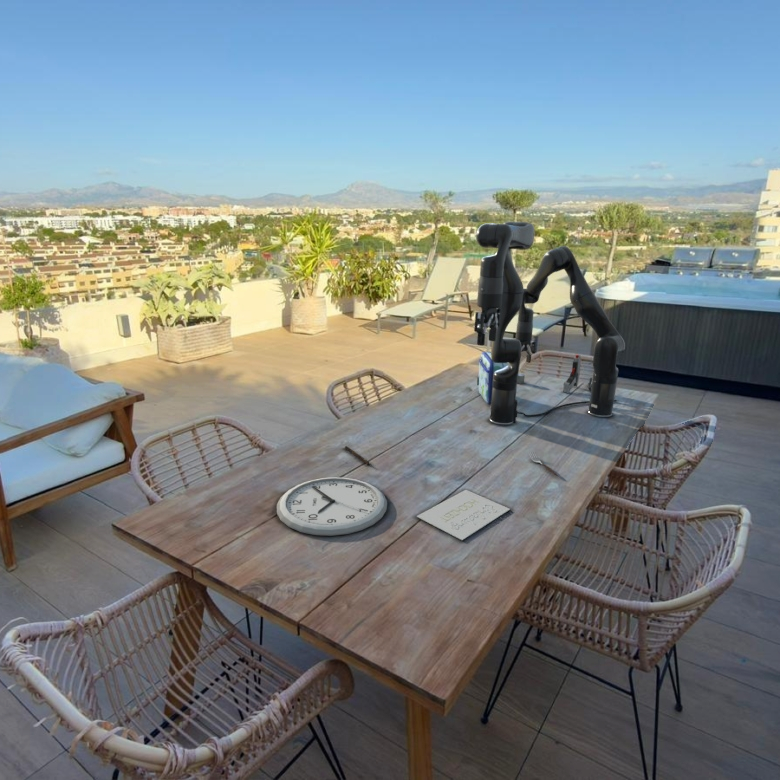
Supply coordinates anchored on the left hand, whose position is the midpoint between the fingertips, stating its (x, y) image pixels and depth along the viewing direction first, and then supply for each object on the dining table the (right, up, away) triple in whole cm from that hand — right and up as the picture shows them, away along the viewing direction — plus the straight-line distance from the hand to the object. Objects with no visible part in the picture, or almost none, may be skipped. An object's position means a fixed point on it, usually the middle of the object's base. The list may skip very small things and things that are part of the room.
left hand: (486, 342), depth 166 cm
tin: (+34, -11, +94) cm, 100 cm away
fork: (+19, -40, +2) cm, 44 cm away
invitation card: (-11, -48, -27) cm, 56 cm away
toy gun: (+56, -15, +84) cm, 102 cm away
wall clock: (-46, -47, -23) cm, 70 cm away
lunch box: (+15, -19, +67) cm, 72 cm away
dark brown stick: (-42, -37, +7) cm, 56 cm away
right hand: (+34, -2, +91) cm, 97 cm away
